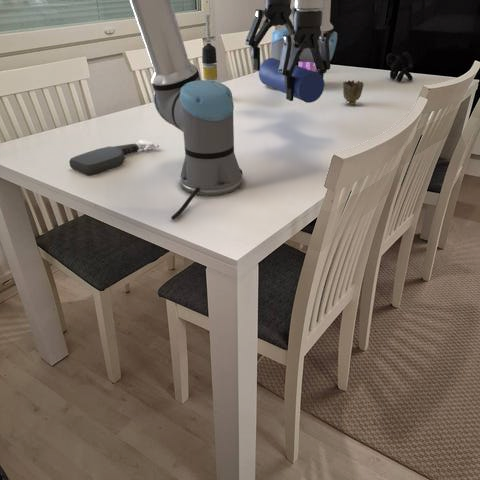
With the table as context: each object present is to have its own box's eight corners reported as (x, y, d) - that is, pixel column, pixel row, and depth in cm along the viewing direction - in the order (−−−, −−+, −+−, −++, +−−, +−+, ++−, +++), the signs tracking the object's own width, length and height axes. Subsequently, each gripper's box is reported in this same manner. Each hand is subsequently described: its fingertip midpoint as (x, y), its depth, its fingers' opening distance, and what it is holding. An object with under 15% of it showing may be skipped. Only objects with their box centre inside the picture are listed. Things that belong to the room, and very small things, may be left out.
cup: (338, 105, 167) (340, 83, 162) (344, 100, 172) (346, 79, 168) (358, 107, 164) (360, 85, 159) (363, 103, 169) (366, 81, 165)
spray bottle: (67, 168, 120) (139, 144, 136) (91, 178, 114) (163, 151, 130) (65, 157, 118) (137, 134, 134) (89, 167, 112) (162, 142, 128)
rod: (323, 100, 127) (325, 70, 123) (298, 104, 124) (299, 73, 120) (281, 83, 146) (281, 56, 141) (258, 86, 143) (258, 59, 138)
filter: (220, 99, 177) (217, 15, 161) (206, 100, 176) (202, 16, 160) (215, 96, 182) (212, 14, 166) (202, 97, 180) (197, 14, 164)
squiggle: (400, 92, 202) (376, 71, 205) (417, 76, 202) (392, 56, 205) (405, 81, 191) (380, 59, 194) (423, 64, 191) (397, 42, 194)
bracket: (309, 74, 214) (310, 58, 210) (299, 72, 217) (300, 57, 213) (322, 69, 223) (323, 54, 219) (312, 68, 225) (313, 53, 222)
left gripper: (333, 6, 123) (326, 90, 135) (265, 11, 116) (264, 99, 128) (349, 8, 118) (340, 96, 130) (280, 13, 110) (277, 105, 122)
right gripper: (308, -13, 134) (304, 62, 145) (233, -10, 125) (234, 69, 136) (322, -12, 128) (317, 66, 139) (244, -9, 119) (245, 74, 130)
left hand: (303, 97), depth 129 cm, fingers closed on rod, 8 cm apart
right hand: (276, 68), depth 138 cm, fingers open, 13 cm apart
